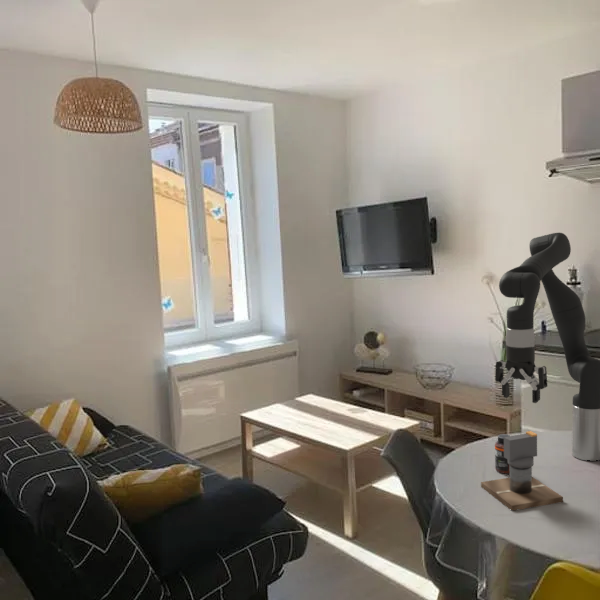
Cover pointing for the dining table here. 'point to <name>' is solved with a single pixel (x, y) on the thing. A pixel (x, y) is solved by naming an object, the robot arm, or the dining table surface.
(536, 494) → the base
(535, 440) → the wing cap
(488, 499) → the dining table surface
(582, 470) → the dining table surface
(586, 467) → the dining table surface
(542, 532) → the dining table surface
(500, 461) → the supplement bottle
